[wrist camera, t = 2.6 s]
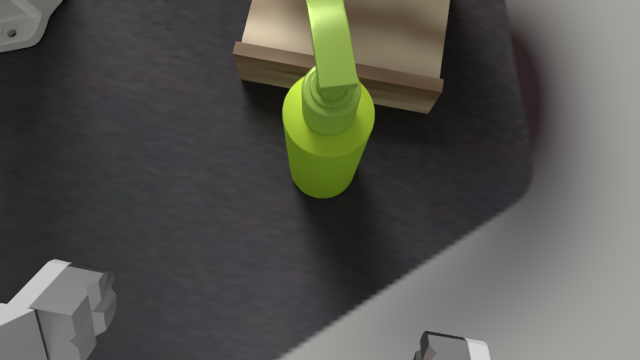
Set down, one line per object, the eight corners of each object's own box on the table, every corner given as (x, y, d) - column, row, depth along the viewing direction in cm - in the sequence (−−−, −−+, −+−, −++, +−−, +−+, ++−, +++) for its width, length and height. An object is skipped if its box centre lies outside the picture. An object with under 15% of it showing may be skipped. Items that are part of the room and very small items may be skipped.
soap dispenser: (347, 122, 43) (380, -19, 23) (359, 193, 41) (405, 106, 22) (285, 129, 42) (265, -7, 23) (294, 202, 41) (282, 122, 21)
